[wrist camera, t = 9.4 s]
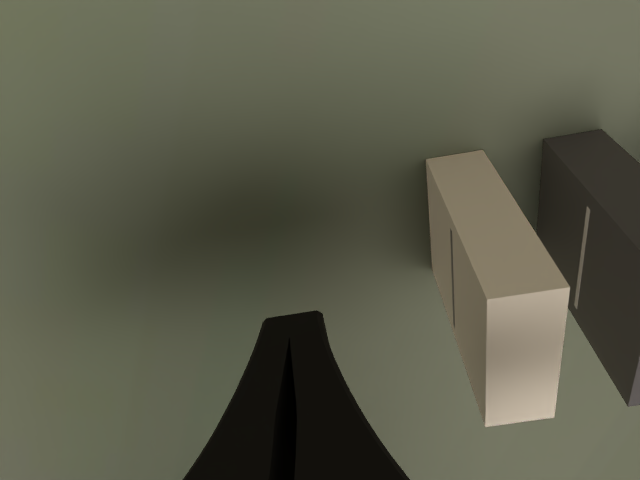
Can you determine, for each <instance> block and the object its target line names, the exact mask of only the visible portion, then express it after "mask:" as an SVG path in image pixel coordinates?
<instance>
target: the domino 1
mask: <svg viewBox="0 0 640 480" xmlns="http://www.w3.org/2000/svg"><path fill="white" fill-rule="evenodd" d="M426 172H427V189H428V206H429V224H430V241H431V258H432V271H433V274H434V277H435V280H436V283H437V286H438V288H439V291H440V294H441V297H442V300H443V303H444V306H445V309H446V312H447V315H448V318H449V321H450V324H451V327H452V330H453V333H454V336H455V339H456V342H457V345H458V348H459V351H460V354H461V357H462V359H463V362H464V365H465V368H466V371H467V374H468V377H469V380H470V383H471V386H472V389H473V392H474V395H475V398H476V401H477V404H478V407H479V410H480V413H481V416H482V419H483V422H484V425H485V427H489V426H496V425H503V424H510V423H518V422H525V421H532V420H540V419H547V418H554V415H555V406H556V398H557V390H558V382H559V374H560V366H561V358H562V350H563V342H564V333H565V325H566V317H567V309H568V301H569V293H570V286H569V284H568V283H567V281H566V280H565V278H564V277H563V275H562V273H561V272H560V270H559V269H558V267H557V266H556V264H555V262H554V261H553V259H552V258H551V256H550V255H549V253H548V251H547V250H546V248H545V247H544V245H543V244H542V242H541V240H540V239H539V237H538V236H537V234H536V233H535V231H534V229H533V228H532V226H531V225H530V223H529V222H528V220H527V218H526V217H525V215H524V214H523V212H522V211H521V209H520V207H519V206H518V204H517V203H516V201H515V200H514V198H513V196H512V195H511V193H510V192H509V190H508V189H507V187H506V185H505V184H504V182H503V181H502V179H501V178H500V176H499V174H498V173H497V171H496V170H495V168H494V167H493V165H492V163H491V162H490V160H489V159H488V157H487V155H486V154H485V152H484V151H483V150H478V151H472V152H466V153H460V154H454V155H448V156H442V157H436V158H429V159H426Z"/></svg>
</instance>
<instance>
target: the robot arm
mask: <svg viewBox="0 0 640 480" xmlns="http://www.w3.org/2000/svg"><path fill="white" fill-rule="evenodd" d="M183 480H410V479H409V478H408V477H407V475H406V474H405V473H404V472H403V470H402V469H401V468H400V466H399V465H398V464H397V463H396V461H395V460H394V459H393V457H392V456H391V455H390V453H389V452H388V451H387V449H386V448H385V446H384V445H383V443H382V442H381V441H380V439H379V438H378V436H377V435H376V433H375V432H374V430H373V429H372V427H371V426H370V424H369V423H368V421H367V419H366V418H365V416H364V414H363V413H362V411H361V409H360V408H359V406H358V404H357V402H356V401H355V399H354V397H353V395H352V393H351V392H350V390H349V388H348V386H347V384H346V382H345V380H344V378H343V376H342V374H341V372H340V369H339V367H338V365H337V363H336V361H335V358H334V356H333V353H332V351H331V348H330V345H329V341H328V337H327V332H326V328H325V323H324V318H323V314H322V313H321V312H319V311H310V312H304V313H297V314H291V315H285V316H278V317H272V318H266V319H265V321H264V322H263V324H262V327H261V330H260V333H259V336H258V339H257V342H256V344H255V347H254V350H253V352H252V355H251V357H250V360H249V362H248V365H247V367H246V369H245V371H244V374H243V376H242V378H241V380H240V382H239V385H238V387H237V389H236V391H235V393H234V395H233V397H232V399H231V401H230V403H229V405H228V407H227V409H226V411H225V413H224V414H223V416H222V418H221V420H220V422H219V424H218V426H217V427H216V429H215V431H214V433H213V434H212V436H211V438H210V439H209V441H208V443H207V444H206V446H205V447H204V449H203V451H202V452H201V454H200V455H199V457H198V458H197V460H196V461H195V463H194V464H193V466H192V467H191V469H190V470H189V472H188V473H187V474H186V476H185V477H184V479H183Z"/></svg>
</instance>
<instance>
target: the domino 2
mask: <svg viewBox="0 0 640 480" xmlns="http://www.w3.org/2000/svg"><path fill="white" fill-rule="evenodd" d="M537 236H538V237H539V239H540V240H541V242H542V244H543V245H544V247H545V248H546V250H547V251H548V253H549V255H550V256H551V258H552V259H553V261H554V262H555V264H556V266H557V267H558V269H559V270H560V272H561V273H562V275H563V277H564V278H565V280H566V281H567V283H568V284H569V286H570V293H569V301H568V308H569V310H570V311H571V313H572V315H573V316H574V318H575V320H576V321H577V323H578V325H579V326H580V328H581V330H582V331H583V333H584V335H585V336H586V338H587V340H588V341H589V343H590V345H591V346H592V348H593V349H594V351H595V353H596V354H597V356H598V358H599V359H600V361H601V363H602V364H603V366H604V368H605V369H606V371H607V373H608V374H609V376H610V378H611V379H612V381H613V383H614V384H615V386H616V388H617V389H618V391H619V393H620V394H621V396H622V398H623V399H624V401H625V402H626V404H627V406H628V407H629V406H636V405H640V164H639V163H638V162H637V161H636V160H635V159H634V158H633V157H632V156H631V155H629V154H628V153H627V152H626V151H625V150H624V149H623V148H622V147H621V146H620V145H618V144H617V143H616V142H615V141H614V140H613V139H612V138H611V137H610V136H609V135H607V134H606V133H605V132H604V131H603V130H602V129H601V130H595V131H589V132H583V133H577V134H571V135H565V136H559V137H553V138H547V139H543V152H542V166H541V180H540V194H539V208H538V223H537Z"/></svg>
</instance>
